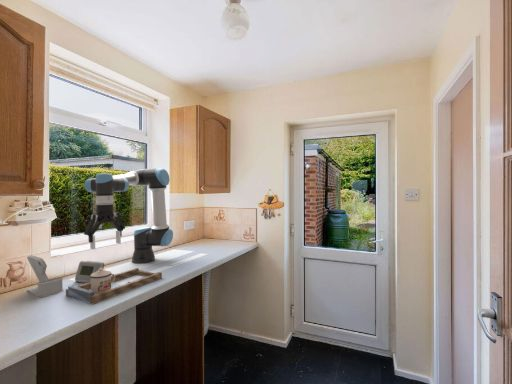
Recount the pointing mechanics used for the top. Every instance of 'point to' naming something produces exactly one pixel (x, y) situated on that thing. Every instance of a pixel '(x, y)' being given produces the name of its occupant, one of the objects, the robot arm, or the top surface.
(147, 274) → the open rectangular wooden frame
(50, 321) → the top surface
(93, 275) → the teacup with lid
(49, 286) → the phone holder
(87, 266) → the digital clock
